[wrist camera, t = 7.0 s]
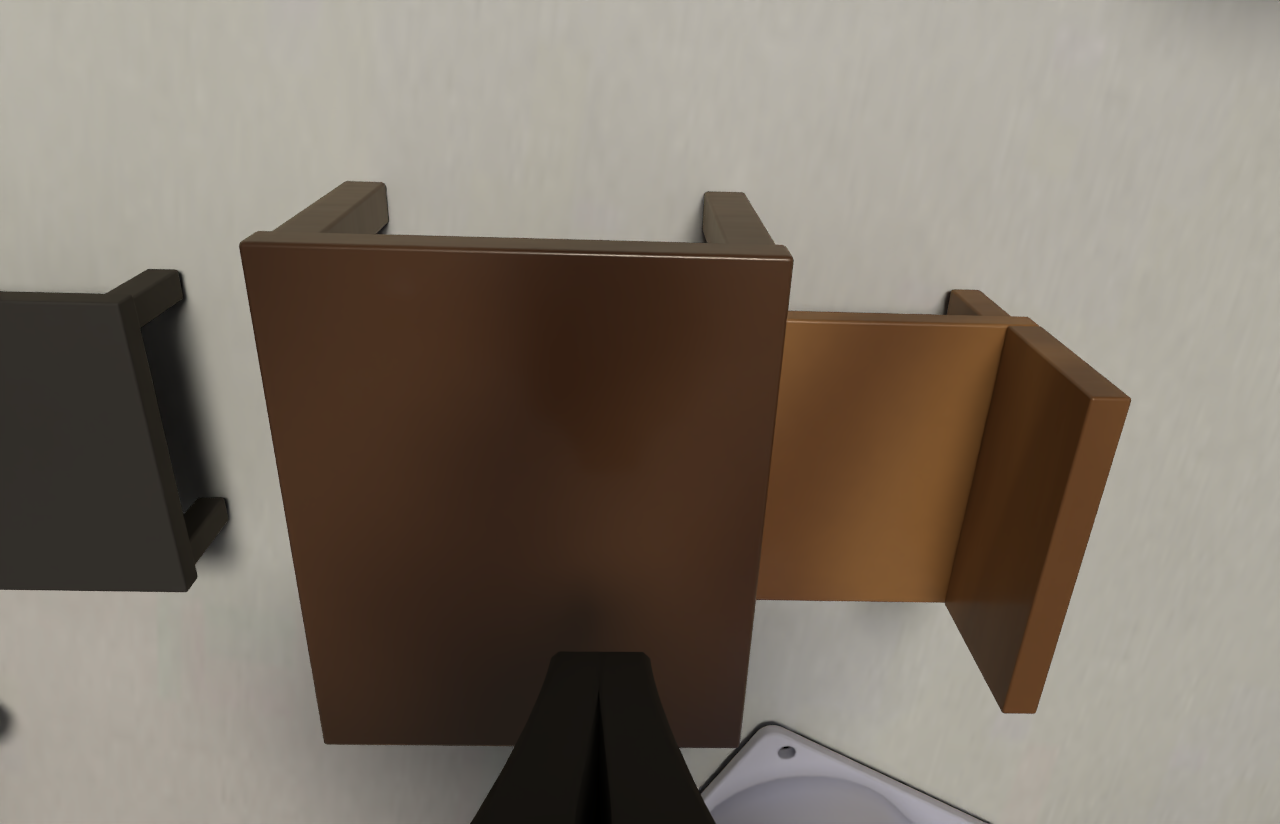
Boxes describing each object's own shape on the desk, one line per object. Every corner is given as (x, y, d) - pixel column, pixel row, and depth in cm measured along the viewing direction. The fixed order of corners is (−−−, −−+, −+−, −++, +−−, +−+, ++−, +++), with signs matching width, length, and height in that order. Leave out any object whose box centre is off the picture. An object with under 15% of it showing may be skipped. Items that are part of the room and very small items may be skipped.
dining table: (749, 187, 19) (795, 256, 14) (715, 590, 24) (739, 749, 19) (339, 175, 19) (236, 242, 14) (386, 585, 24) (323, 745, 19)
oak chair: (987, 282, 20) (1133, 398, 14) (934, 536, 23) (1036, 714, 17) (643, 274, 20) (651, 388, 14) (633, 531, 23) (637, 710, 17)
